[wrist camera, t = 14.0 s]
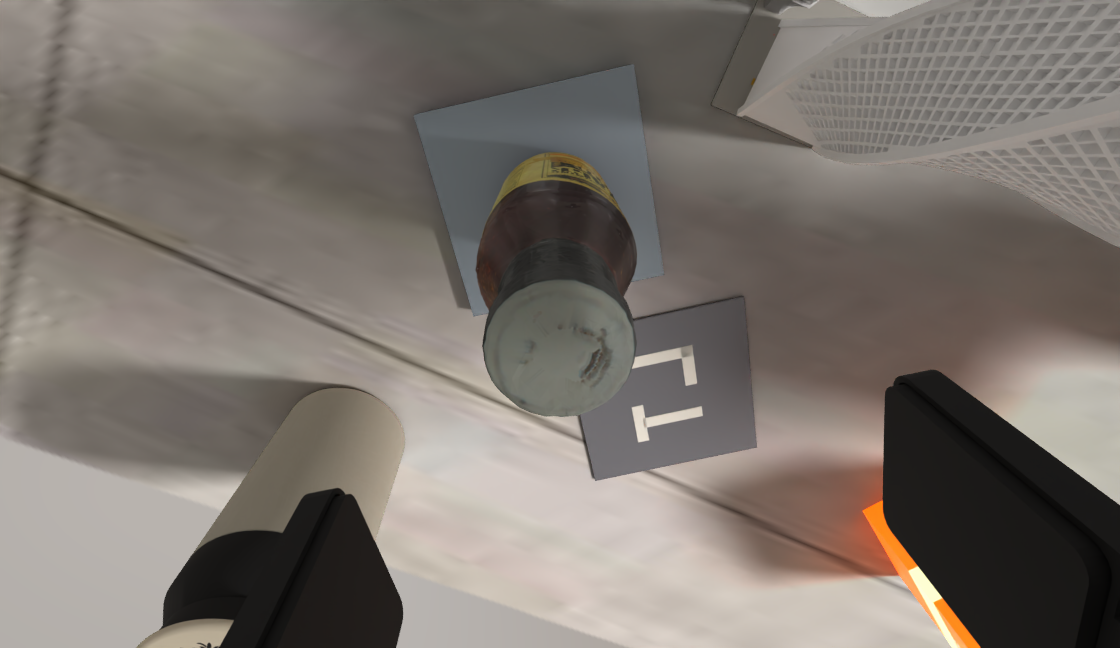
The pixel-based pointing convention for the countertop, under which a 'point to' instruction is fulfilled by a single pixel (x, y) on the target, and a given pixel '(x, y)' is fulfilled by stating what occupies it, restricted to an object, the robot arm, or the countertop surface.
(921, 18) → the skyscraper
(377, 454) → the travel mug
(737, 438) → the tile
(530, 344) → the sauce bottle
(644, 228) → the pad
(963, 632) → the orange juice
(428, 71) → the countertop surface
